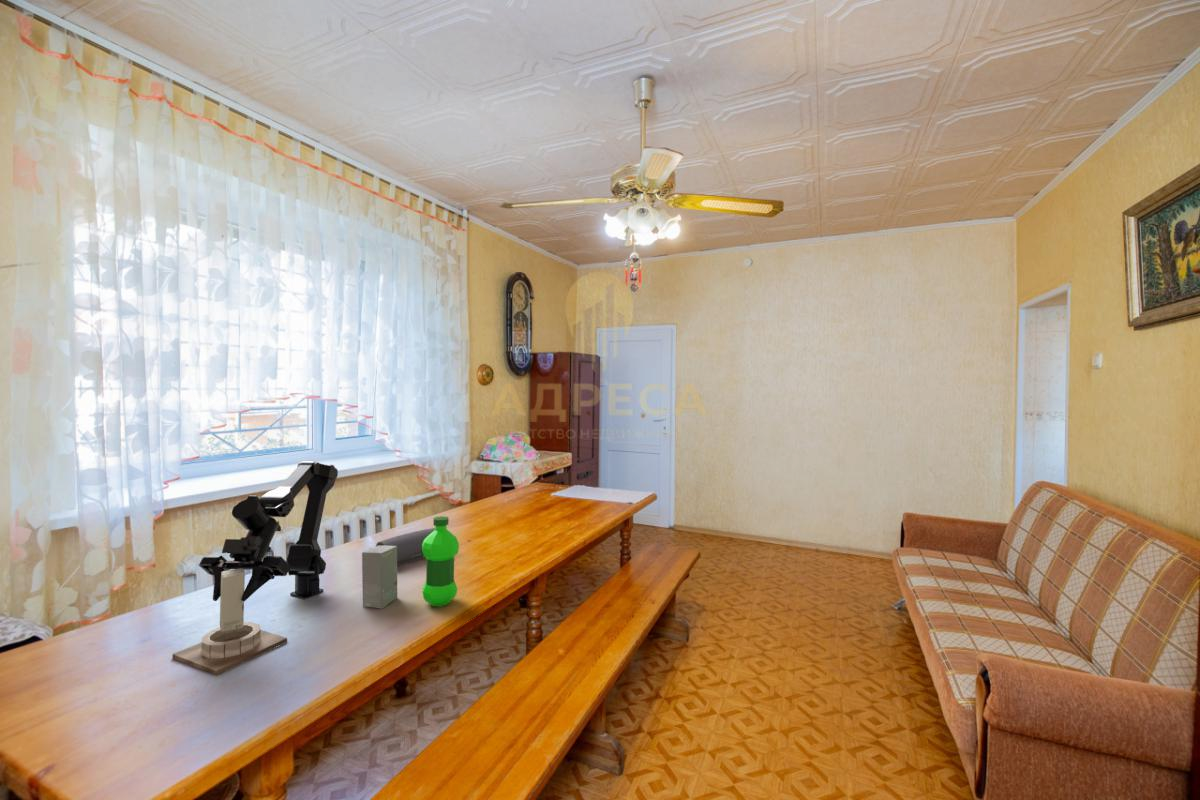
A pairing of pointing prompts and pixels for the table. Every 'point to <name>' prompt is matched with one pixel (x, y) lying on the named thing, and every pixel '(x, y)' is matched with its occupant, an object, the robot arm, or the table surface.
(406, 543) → the bluetooth speaker
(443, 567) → the plastic bottle
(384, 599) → the skincare box
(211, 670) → the ring socket
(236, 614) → the box
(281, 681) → the table surface
